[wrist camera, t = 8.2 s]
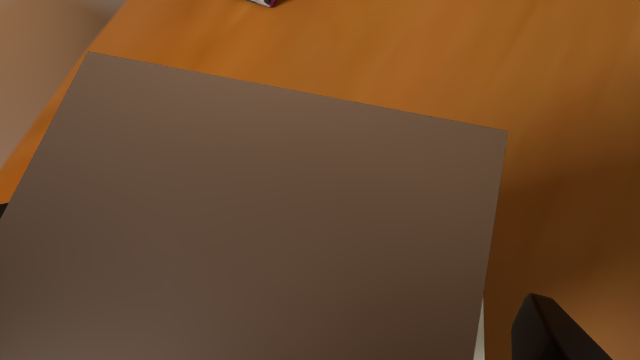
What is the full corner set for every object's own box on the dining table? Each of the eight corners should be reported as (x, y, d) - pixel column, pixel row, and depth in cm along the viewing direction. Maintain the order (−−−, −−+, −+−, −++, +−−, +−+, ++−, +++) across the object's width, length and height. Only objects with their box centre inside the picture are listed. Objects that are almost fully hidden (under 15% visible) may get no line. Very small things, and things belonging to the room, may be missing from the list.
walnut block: (373, 406, 15) (405, 803, 3) (247, 365, 16) (-155, 516, 4) (402, 272, 16) (507, 130, 4) (285, 241, 17) (87, 51, 5)
